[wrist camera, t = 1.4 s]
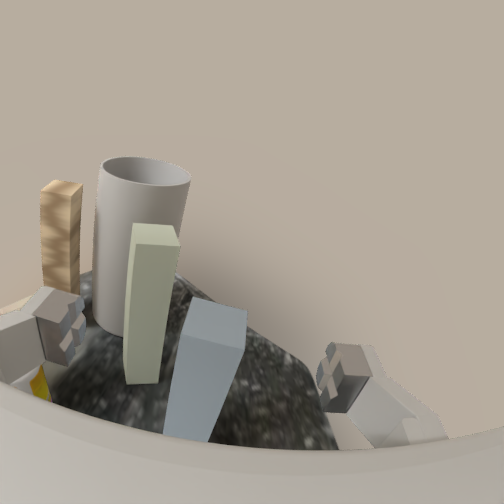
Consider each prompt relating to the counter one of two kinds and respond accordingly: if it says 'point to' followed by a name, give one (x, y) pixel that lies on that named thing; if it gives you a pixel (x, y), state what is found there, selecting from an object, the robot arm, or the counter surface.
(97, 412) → the counter surface
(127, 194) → the cylinder vase
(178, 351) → the post slate
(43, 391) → the supplement bottle
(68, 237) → the post oak
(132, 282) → the post sage
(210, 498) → the robot arm
